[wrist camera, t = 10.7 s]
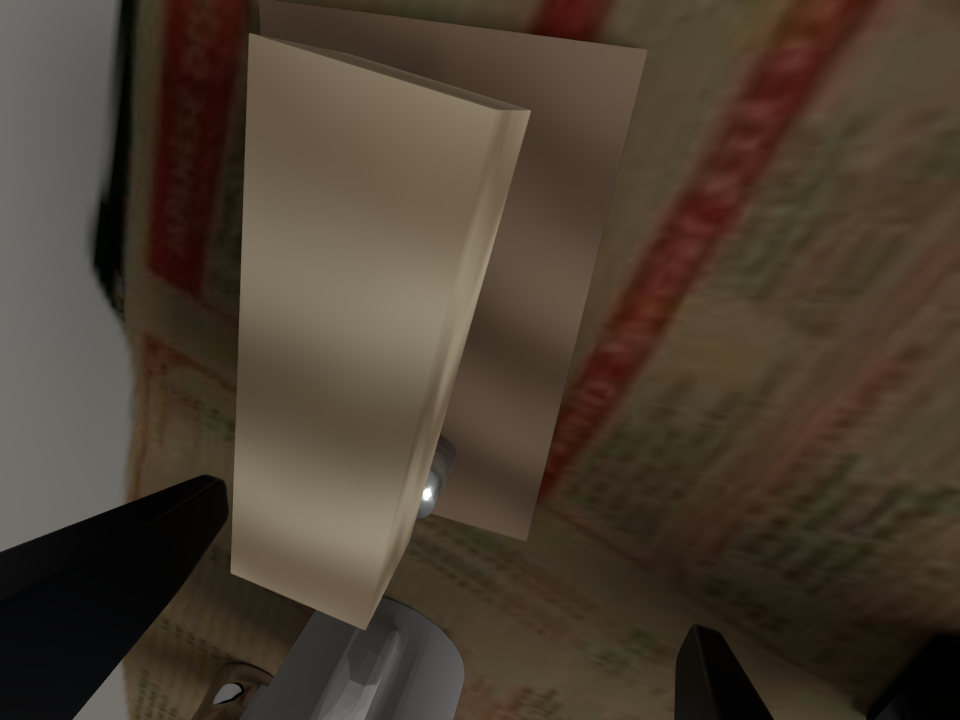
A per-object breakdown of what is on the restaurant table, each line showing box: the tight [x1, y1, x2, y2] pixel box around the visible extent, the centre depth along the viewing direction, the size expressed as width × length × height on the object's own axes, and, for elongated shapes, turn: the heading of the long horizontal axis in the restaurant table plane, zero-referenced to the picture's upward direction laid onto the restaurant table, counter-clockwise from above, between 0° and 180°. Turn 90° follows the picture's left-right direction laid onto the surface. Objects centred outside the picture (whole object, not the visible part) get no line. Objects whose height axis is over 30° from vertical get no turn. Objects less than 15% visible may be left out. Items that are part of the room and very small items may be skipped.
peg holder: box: [259, 0, 648, 542], centre depth 19 cm, size 19×12×4 cm, turn 172°
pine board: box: [231, 33, 531, 630], centre depth 15 cm, size 16×5×4 cm, turn 165°
